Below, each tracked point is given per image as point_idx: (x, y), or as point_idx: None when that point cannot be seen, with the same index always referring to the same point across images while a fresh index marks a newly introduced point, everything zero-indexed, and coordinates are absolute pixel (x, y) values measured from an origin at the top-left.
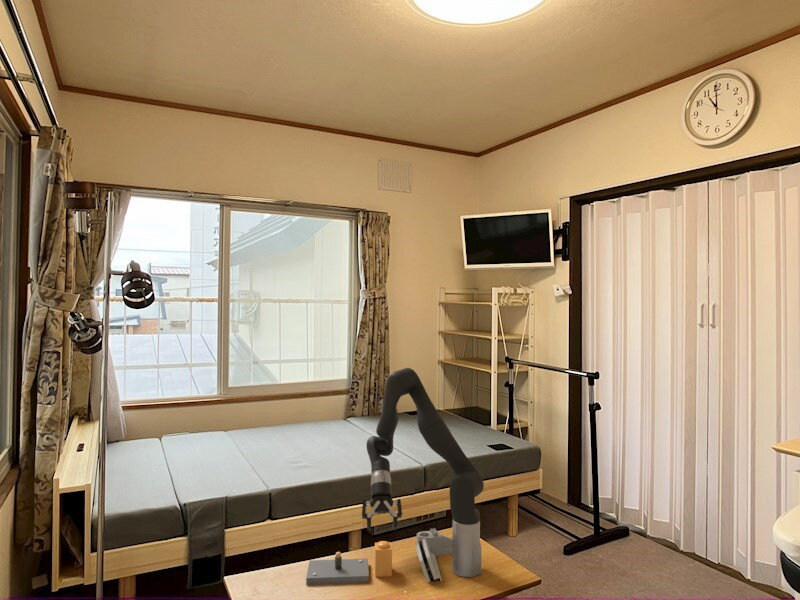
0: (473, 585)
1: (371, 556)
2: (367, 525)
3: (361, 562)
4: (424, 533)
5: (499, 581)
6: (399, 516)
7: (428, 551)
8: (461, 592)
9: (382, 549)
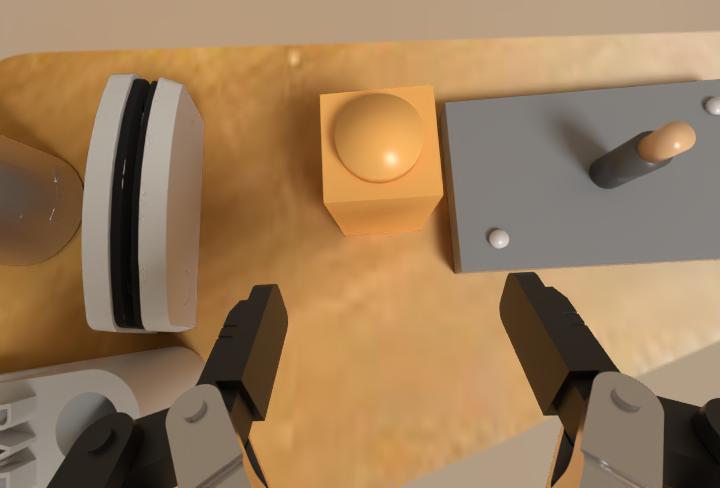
0: (40, 102)
1: (441, 358)
2: (565, 301)
3: (492, 229)
4: None
5: None
6: (152, 418)
7: (100, 106)
8: (95, 56)
9: (384, 91)
